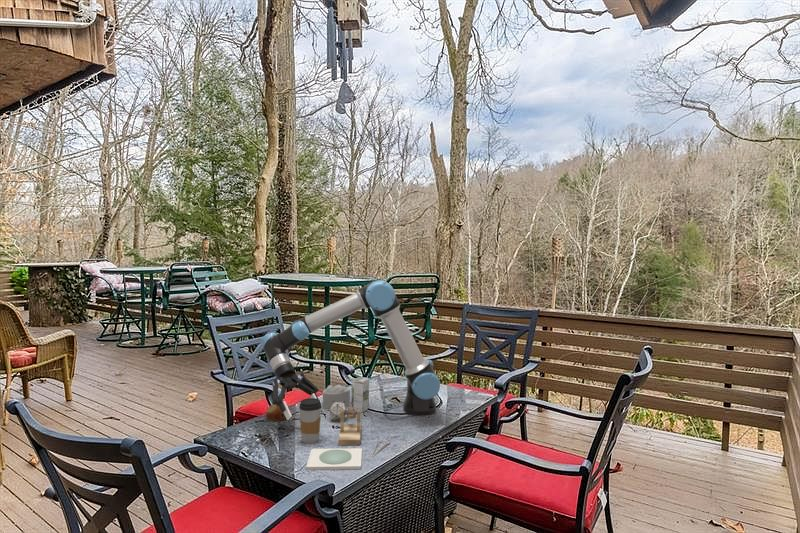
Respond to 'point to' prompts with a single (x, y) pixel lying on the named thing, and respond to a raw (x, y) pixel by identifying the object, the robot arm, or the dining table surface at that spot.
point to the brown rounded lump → (275, 413)
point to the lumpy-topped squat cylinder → (335, 395)
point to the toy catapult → (350, 428)
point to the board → (335, 459)
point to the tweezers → (380, 448)
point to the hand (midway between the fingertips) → (304, 413)
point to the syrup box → (360, 394)
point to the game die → (337, 410)
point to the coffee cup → (310, 419)
